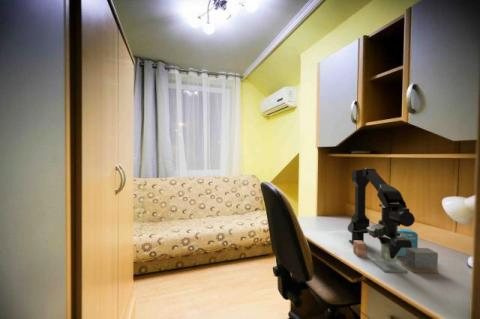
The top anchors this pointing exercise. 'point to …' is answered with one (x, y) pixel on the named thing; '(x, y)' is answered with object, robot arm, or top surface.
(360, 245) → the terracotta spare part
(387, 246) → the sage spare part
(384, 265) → the pad
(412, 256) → the mounted unit
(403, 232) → the data package
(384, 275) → the top surface
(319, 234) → the top surface
